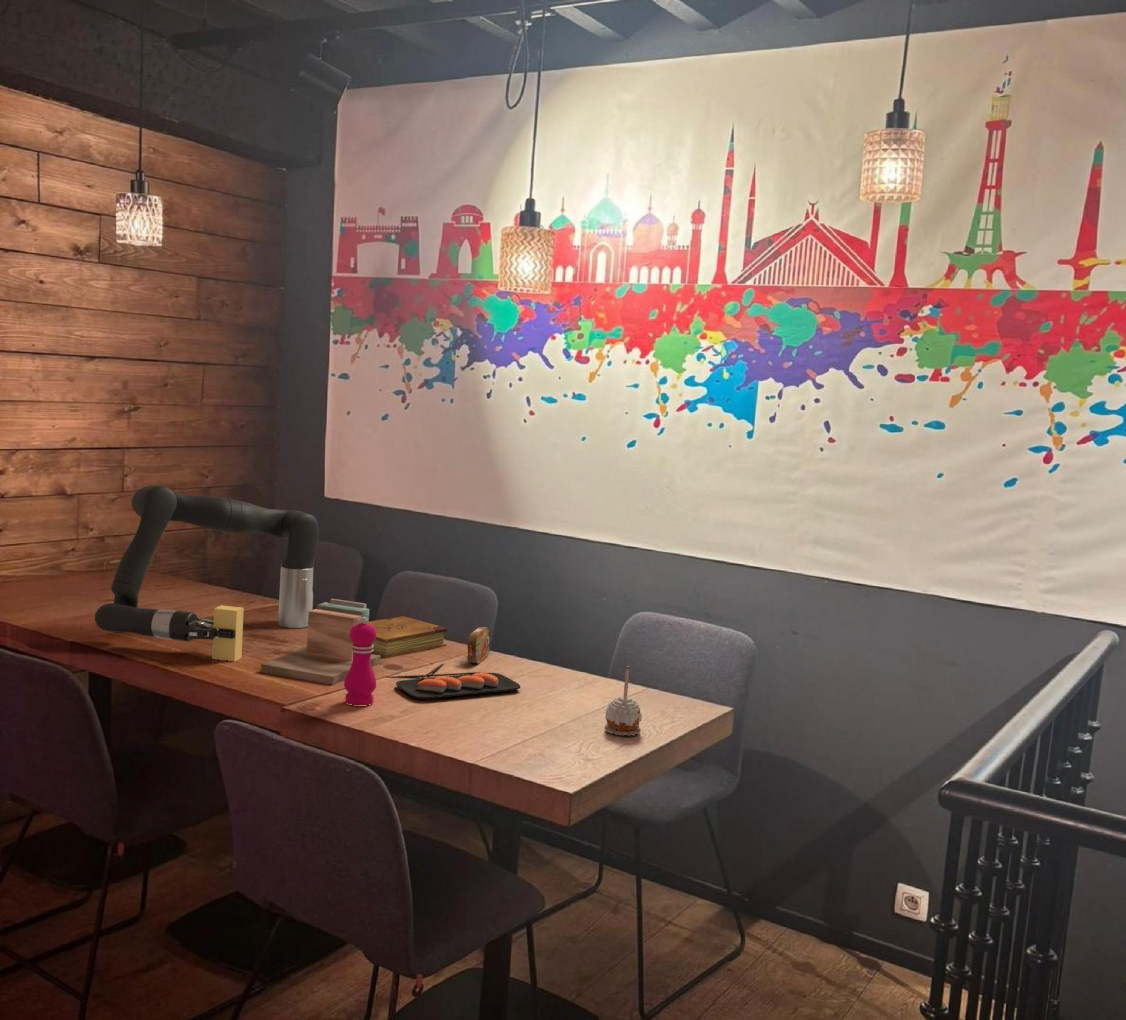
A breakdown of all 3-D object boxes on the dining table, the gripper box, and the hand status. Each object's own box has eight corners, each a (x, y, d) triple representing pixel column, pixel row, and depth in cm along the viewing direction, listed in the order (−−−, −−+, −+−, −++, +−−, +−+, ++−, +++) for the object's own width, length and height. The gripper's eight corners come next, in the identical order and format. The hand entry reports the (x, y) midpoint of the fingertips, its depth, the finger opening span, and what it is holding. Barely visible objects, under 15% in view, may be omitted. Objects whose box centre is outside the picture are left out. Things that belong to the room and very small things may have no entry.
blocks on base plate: (312, 651, 288) (315, 596, 286) (380, 662, 282) (383, 606, 280) (260, 672, 265) (263, 612, 263) (332, 684, 259) (336, 623, 257)
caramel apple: (646, 735, 240) (652, 669, 238) (619, 739, 235) (625, 672, 233) (625, 724, 246) (630, 660, 244) (597, 729, 241) (603, 663, 240)
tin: (475, 667, 285) (477, 635, 284) (464, 665, 286) (466, 634, 285) (490, 654, 300) (493, 624, 299) (479, 652, 300) (482, 623, 299)
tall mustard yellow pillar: (219, 655, 277) (221, 605, 276) (241, 657, 277) (243, 607, 275) (212, 658, 274) (214, 608, 272) (234, 661, 273) (236, 610, 271)
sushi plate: (415, 705, 250) (416, 689, 249) (366, 671, 275) (367, 657, 274) (524, 694, 265) (526, 679, 265) (469, 663, 290) (470, 649, 290)
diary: (400, 634, 316) (401, 615, 316) (446, 648, 305) (447, 628, 304) (338, 645, 298) (340, 624, 298) (384, 659, 287) (386, 638, 286)
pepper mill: (347, 696, 251) (351, 612, 248) (378, 699, 250) (383, 614, 248) (339, 705, 243) (344, 618, 241) (371, 708, 243) (376, 621, 241)
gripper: (161, 616, 269) (226, 623, 266) (188, 605, 283) (251, 612, 280) (160, 645, 270) (225, 653, 267) (187, 633, 284) (250, 640, 281)
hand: (238, 632), depth 274 cm, fingers closed on tall mustard yellow pillar, 4 cm apart
